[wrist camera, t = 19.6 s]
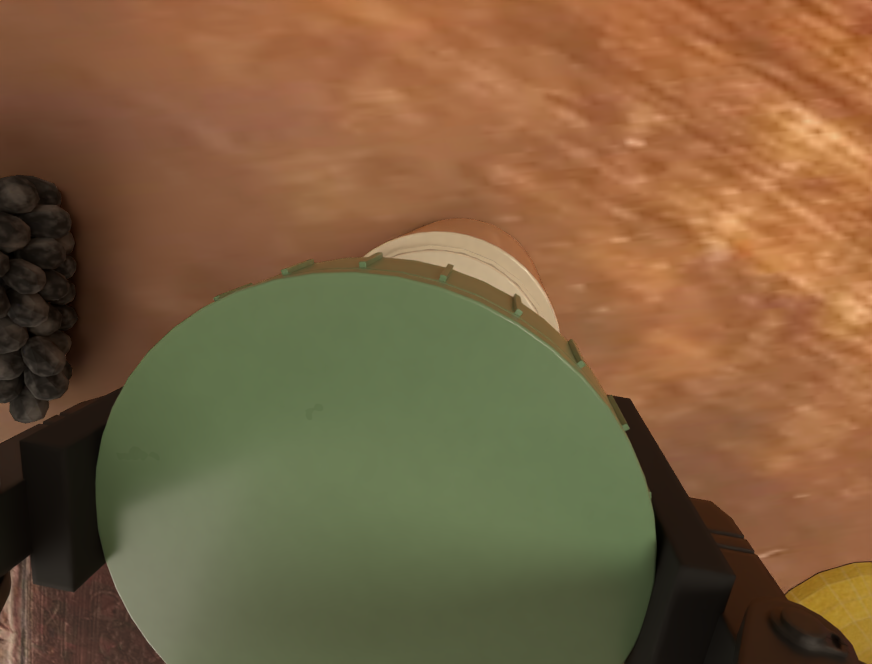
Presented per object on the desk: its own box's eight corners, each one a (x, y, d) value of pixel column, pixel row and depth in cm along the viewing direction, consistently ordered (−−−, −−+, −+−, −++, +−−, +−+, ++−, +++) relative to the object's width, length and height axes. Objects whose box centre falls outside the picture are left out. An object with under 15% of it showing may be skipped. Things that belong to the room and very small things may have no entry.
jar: (385, 209, 28) (310, 219, 17) (554, 227, 28) (589, 251, 17) (373, 367, 31) (301, 465, 20) (529, 389, 30) (544, 503, 19)
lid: (157, 214, 10) (81, 219, 8) (696, 304, 9) (743, 332, 7) (155, 634, 12) (98, 708, 10) (571, 729, 11) (583, 824, 10)
